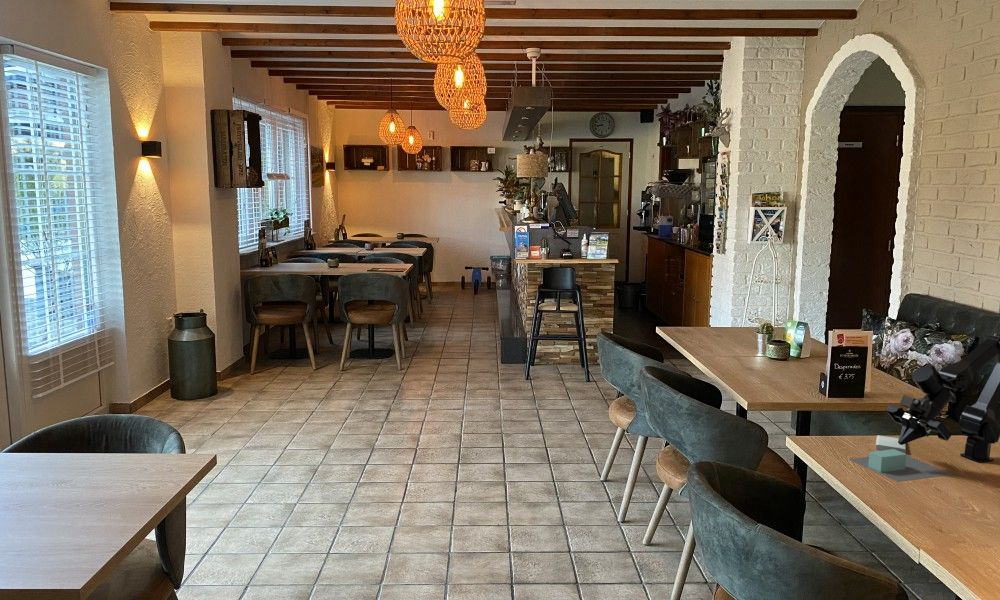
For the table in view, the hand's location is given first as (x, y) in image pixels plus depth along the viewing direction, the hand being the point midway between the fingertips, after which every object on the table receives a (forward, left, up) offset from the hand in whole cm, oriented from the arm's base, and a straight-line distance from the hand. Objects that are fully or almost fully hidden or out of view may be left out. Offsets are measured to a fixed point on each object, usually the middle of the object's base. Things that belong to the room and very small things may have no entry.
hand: (899, 443), depth 216 cm
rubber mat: (-1, 0, -7) cm, 7 cm away
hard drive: (-13, -15, -7) cm, 21 cm away
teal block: (-1, 0, -5) cm, 5 cm away
